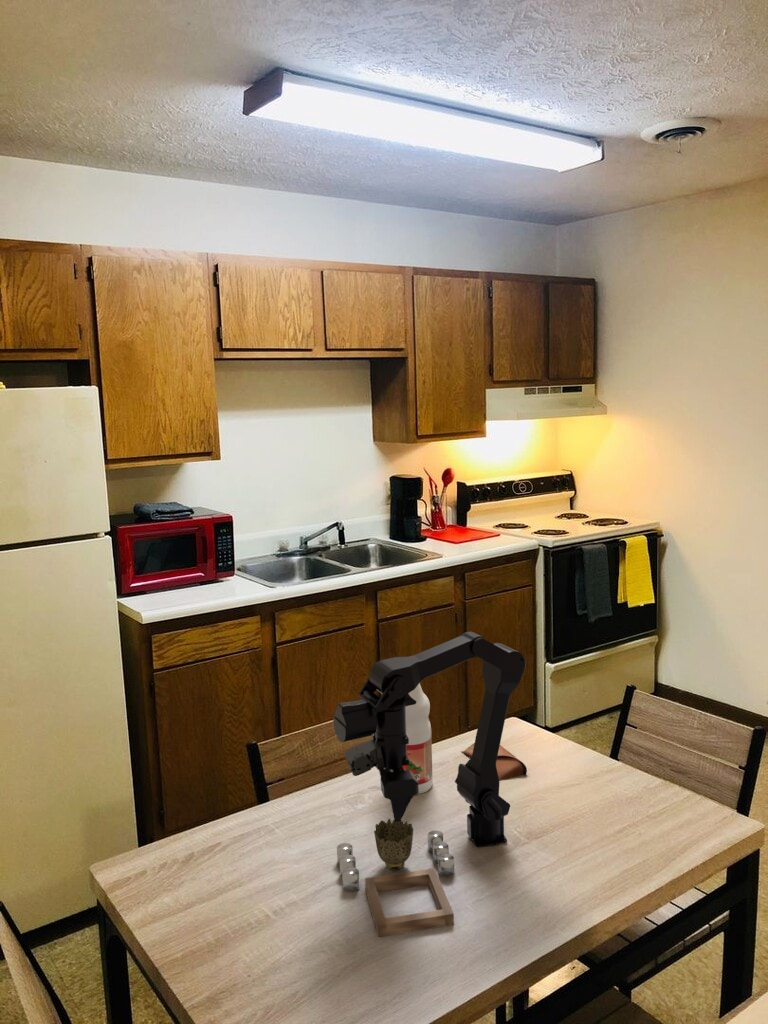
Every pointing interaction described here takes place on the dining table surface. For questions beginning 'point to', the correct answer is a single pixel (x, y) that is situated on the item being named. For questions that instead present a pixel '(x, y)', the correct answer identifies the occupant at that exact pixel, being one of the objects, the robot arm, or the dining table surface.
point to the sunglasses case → (504, 763)
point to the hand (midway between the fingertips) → (392, 808)
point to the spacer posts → (434, 846)
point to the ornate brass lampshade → (394, 843)
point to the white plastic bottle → (419, 740)
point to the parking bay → (413, 920)
